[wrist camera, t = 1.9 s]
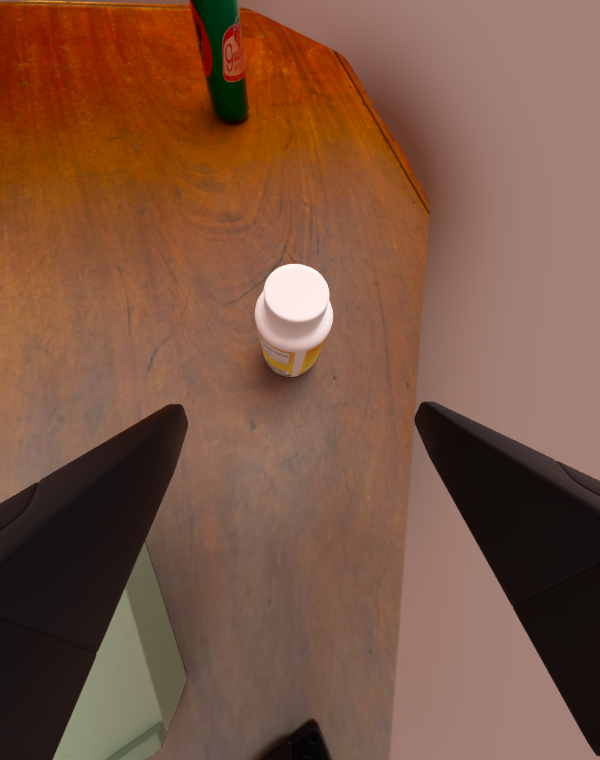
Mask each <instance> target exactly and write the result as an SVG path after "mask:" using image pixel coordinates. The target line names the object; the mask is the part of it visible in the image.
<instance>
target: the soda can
mask: <svg viewBox="0 0 600 760" xmlns="http://www.w3.org/2000/svg"><path fill="white" fill-rule="evenodd" d="M189 4H190V9H191V13H192V18H193V23H194V27H195V32H196V37H197V42H198V46H199V51H200V56H201V60H202V65H203V70H204V75H205V79H206V84H207V89H208V93H209V98H210V103H211V107H212V110H213V112H214V113H215V114H216V116H217V117H218V118H219V119H221V120H222V121H224V122H227V123H238V122H241V121H242V120H244V119H245V117H246V115H247V113H248V110H249V107H248V97H247V87H246V77H245V67H244V56H243V46H242V36H241V26H240V16H239V5H238V0H189Z"/></svg>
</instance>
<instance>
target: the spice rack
mask: <svg viewBox="0 0 600 760" xmlns="http://www.w3.org/2000/svg"><path fill="white" fill-rule="evenodd" d="M96 654H97V656H96V659H95V661H94V663H93V666H92V668H91V670H90V673H89V675H88V677H87V680H86V682H85V685H84V687H83V689H82V692H81V694H80V696H79V699H78V701H77V704H76V706H75V708H74V711H73V713H72V715H71V718H70V720H69V723H68V725H67V727H66V730H65V732H64V734H63V737H62V739H61V741H60V744H59V746H58V749H57V751H56V753H55V756H54V758H53V760H146V759H147V758H149V757H150V756H152V755H153V754H154V753H156V752H157V751H159V750H160V749H161V748H162V745H163V743H164V740H165V737H166V734H167V732H168V729H169V727H170V724H171V721H172V719H173V716H174V713H175V711H176V708H177V705H178V703H179V700H180V697H181V695H182V692H183V689H184V687H185V684H186V681H187V675H186V672H185V669H184V665H183V662H182V659H181V656H180V652H179V649H178V646H177V643H176V640H175V636H174V633H173V630H172V627H171V624H170V620H169V617H168V614H167V611H166V608H165V604H164V601H163V598H162V595H161V592H160V588H159V585H158V582H157V579H156V575H155V572H154V569H153V566H152V563H151V559H150V556H149V553H148V550H147V547H146V543H145V542H144V544H143V547H142V549H141V551H140V554H139V556H138V558H137V561H136V563H135V566H134V568H133V570H132V573H131V575H130V577H129V580H128V582H127V584H126V587H125V589H124V592H123V594H122V596H121V599H120V601H119V603H118V606H117V608H116V611H115V613H114V615H113V618H112V620H111V622H110V625H109V627H108V630H107V632H106V634H105V637H104V639H103V641H102V644H101V646H100V648H99V651H98V652H97V653H96Z"/></svg>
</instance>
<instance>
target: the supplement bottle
mask: <svg viewBox="0 0 600 760" xmlns="http://www.w3.org/2000/svg"><path fill="white" fill-rule="evenodd" d="M255 321H256V326H257V330H258V334H259V338H260V342H261V346H262V350H263V354H264V358H265V360H266V362H267V364H268V366H269V367H270V368H271V369H272V370H273V371H274V372H276V373H278V374H280V375H282V376H287V377H295V376H299V375H302V374H304V373H305V372H307V371H308V370H309V369H310V368H311V367H312V366H313V364H314V363H315V361H316V359H317V356H318V354H319V352H320V350H321V348H322V346H323V344H324V342H325V340H326V338H327V336H328V334H329V332H330V329H331V326H332V322H333V310H332V306H331V303H330V301H329V289H328V285H327V283H326V281H325V280H324V278H323V277H322V276H321V275H320V274H319V273H318V272H317V271H316V270H314V269H312V268H310V267H308V266H305V265H301V264H288V265H284V266H281V267H279V268H277V269H276V270H274V271H273V272H272V273H271V274H270V275H269V277H268V278H267V280H266V282H265V285H264V291H263V292H262V294H261V295H260V297H259V298H258V301H257V304H256V307H255Z"/></svg>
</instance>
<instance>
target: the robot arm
mask: <svg viewBox="0 0 600 760" xmlns="http://www.w3.org/2000/svg"><path fill="white" fill-rule="evenodd" d="M414 421H415V425H416V427H417V429H418V432H419V434H420V436H421V439H422V441H423V443H424V445H425V448H426V450H427V453H428V455H429V457H430V459H431V461H432V463H433V464H434V466H435V468H436V470H437V472H438V474H439V475H440V477H441V479H442V481H443V482H444V484H445V486H446V488H447V489H448V492H449V493H450V495H451V497H452V499H453V501H454V502H455V504H456V506H457V507H458V510H459V511H460V513H461V515H462V517H463V519H464V520H465V522H466V524H467V526H468V528H469V529H470V531H471V533H472V535H473V537H474V538H475V540H476V542H477V544H478V546H479V547H480V549H481V551H482V553H483V554H484V556H485V558H486V560H487V562H488V563H489V565H490V567H491V569H492V571H493V573H494V574H495V576H496V578H497V580H498V582H499V583H500V585H501V587H502V589H503V591H504V592H505V594H506V596H507V598H508V600H509V601H510V603H511V605H512V606H513V609H514V611H515V612H516V614H517V616H518V618H519V620H520V622H521V623H522V625H523V627H524V629H525V631H526V632H527V634H528V636H529V638H530V639H531V641H532V643H533V645H534V647H535V649H536V651H537V652H538V654H539V656H540V658H541V659H542V661H543V663H544V665H545V667H546V669H547V670H548V672H549V674H550V676H551V677H552V679H553V681H554V683H555V685H556V687H557V688H558V690H559V692H560V694H561V696H562V697H563V699H564V701H565V703H566V705H567V706H568V708H569V710H570V712H571V714H572V715H573V717H574V719H575V721H576V723H577V724H578V726H579V728H580V730H581V732H582V733H583V735H584V737H585V739H586V740H587V742H588V744H589V745H590V747H591V748H592V750H593V751H594V753H595V754H596V755H597V756H600V481H599V480H597V479H595V478H592V477H591V476H588V475H586V474H584V473H582V472H580V471H578V470H575V469H573V468H571V467H569V466H567V465H565V464H563V463H561V462H559V461H555V460H554V459H552V458H550V457H548V456H546V455H544V454H542V453H540V452H538V451H535V450H534V449H532V448H529V447H527V446H525V445H523V444H521V443H519V442H517V441H515V440H513V439H511V438H509V437H506V436H504V435H502V434H500V433H498V432H496V431H494V430H492V429H490V428H488V427H486V426H483V425H481V424H479V423H477V422H475V421H473V420H471V419H469V418H467V417H465V416H462V415H461V414H458V413H456V412H454V411H452V410H450V409H448V408H446V407H444V406H442V405H440V404H438V403H435V402H422V403H421V404H420V406H419V409H418V411H417V413H416V415H415V419H414ZM187 428H188V421H187V418H186V414H185V411H184V408H183V406H182V405H180V404H169V405H167V406H165V407H163V408H162V409H160V410H158V411H157V412H155V413H153V414H151V415H150V416H148V417H146V418H145V419H143V420H141V421H140V422H138V423H136V424H135V425H133V426H131V427H129V428H128V429H126V430H124V431H123V432H121V433H119V434H118V435H116V436H114V437H112V438H111V439H109V440H107V441H106V442H104V443H102V444H101V445H99V446H97V447H96V448H94V449H92V450H90V451H89V452H87V453H85V454H84V455H82V456H80V457H79V458H77V459H75V460H74V461H72V462H70V463H68V464H67V465H65V466H63V467H62V468H60V469H58V470H57V471H55V472H53V473H51V474H50V475H48V476H46V477H45V478H43V479H41V480H40V482H39V483H34V484H33V485H31V486H29V487H28V488H26V489H24V490H23V491H21V492H19V493H18V494H16V495H14V496H12V497H11V498H9V499H7V500H6V501H4V502H2V503H0V760H53V758H54V756H55V753H56V751H57V749H58V746H59V744H60V741H61V739H62V737H63V734H64V732H65V730H66V727H67V725H68V723H69V720H70V718H71V715H72V713H73V711H74V708H75V706H76V704H77V701H78V699H79V696H80V694H81V692H82V689H83V687H84V685H85V682H86V680H87V677H88V675H89V673H90V670H91V668H92V666H93V663H94V661H95V659H96V656H97V654H96V653H97V652H98V651H99V648H100V646H101V644H102V641H103V639H104V637H105V634H106V632H107V630H108V627H109V625H110V622H111V620H112V618H113V615H114V613H115V611H116V608H117V606H118V603H119V601H120V599H121V596H122V594H123V592H124V589H125V587H126V584H127V582H128V580H129V577H130V575H131V573H132V570H133V568H134V566H135V563H136V561H137V558H138V556H139V554H140V551H141V549H142V547H143V544H144V542H145V539H146V537H147V535H148V532H149V530H150V528H151V525H152V523H153V521H154V518H155V516H156V513H157V511H158V509H159V506H160V504H161V502H162V499H163V497H164V494H165V492H166V490H167V487H168V485H169V483H170V480H171V478H172V476H173V473H174V471H175V468H176V465H177V462H178V459H179V455H180V452H181V448H182V445H183V442H184V438H185V435H186V431H187ZM313 733H314V735H311V734H313ZM263 760H332V759H331V756H330V754H329V751H328V749H327V746H326V744H325V741H324V738H323V736H322V733H321V731H320V728H319V726H318V724H317V723H316V722H314V721H312V722H310V723H308V724H307V725H306V726H305V727H303V728H302V729H301V730H300V731H298V732H297V733H296V734H295V735H293V736H292V737H291V738H290V739H288V740H287V741H286V742H285V743H283V744H282V745H281V746H280V747H278V748H277V749H276V750H275V751H273V752H272V753H271V754H270V755H268V756H267V757H266V758H265V759H263Z"/></svg>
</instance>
